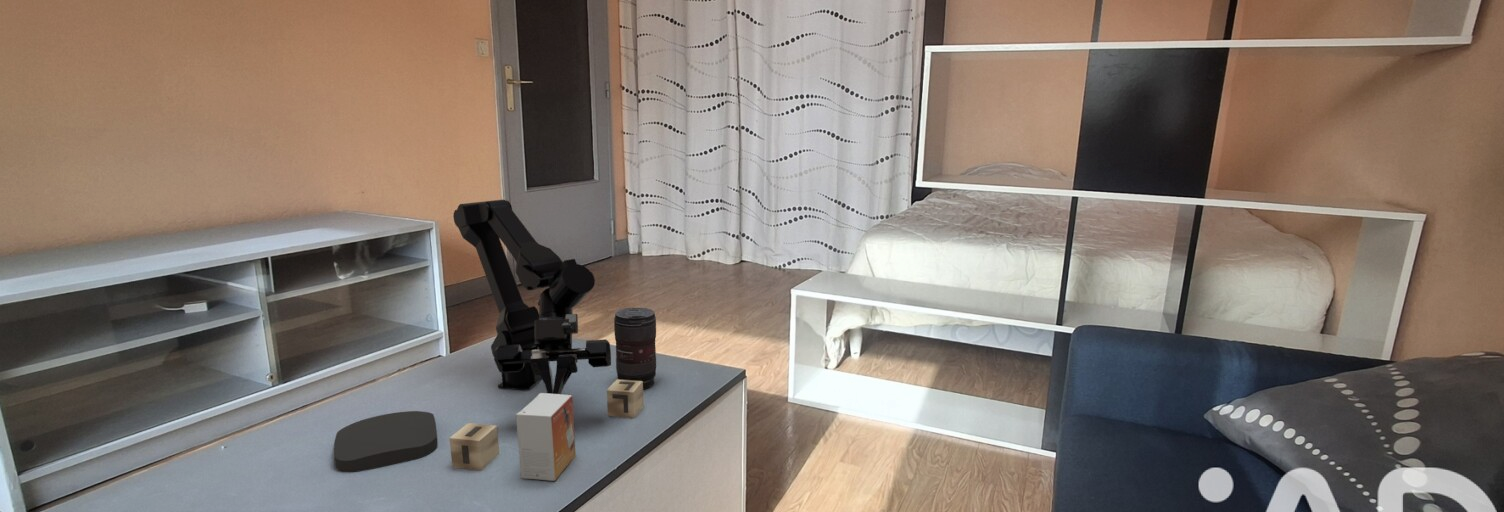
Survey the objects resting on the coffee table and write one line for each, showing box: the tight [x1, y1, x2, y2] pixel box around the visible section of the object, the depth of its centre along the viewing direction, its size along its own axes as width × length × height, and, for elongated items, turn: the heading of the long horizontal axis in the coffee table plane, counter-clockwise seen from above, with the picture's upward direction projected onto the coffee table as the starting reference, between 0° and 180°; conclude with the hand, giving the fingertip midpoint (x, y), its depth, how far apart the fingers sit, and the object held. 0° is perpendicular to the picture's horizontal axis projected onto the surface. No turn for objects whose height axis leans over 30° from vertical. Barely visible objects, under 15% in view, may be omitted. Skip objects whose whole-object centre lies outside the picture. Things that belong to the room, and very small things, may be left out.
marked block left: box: [449, 422, 500, 471], centre depth 106 cm, size 5×5×5 cm
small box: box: [515, 392, 577, 482], centre depth 104 cm, size 8×6×10 cm
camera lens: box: [613, 307, 657, 390], centre depth 135 cm, size 8×8×15 cm
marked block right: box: [606, 378, 645, 419], centre depth 124 cm, size 5×5×5 cm
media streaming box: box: [333, 410, 439, 473], centre depth 111 cm, size 15×15×3 cm
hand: (553, 403), depth 112 cm, fingers closed
